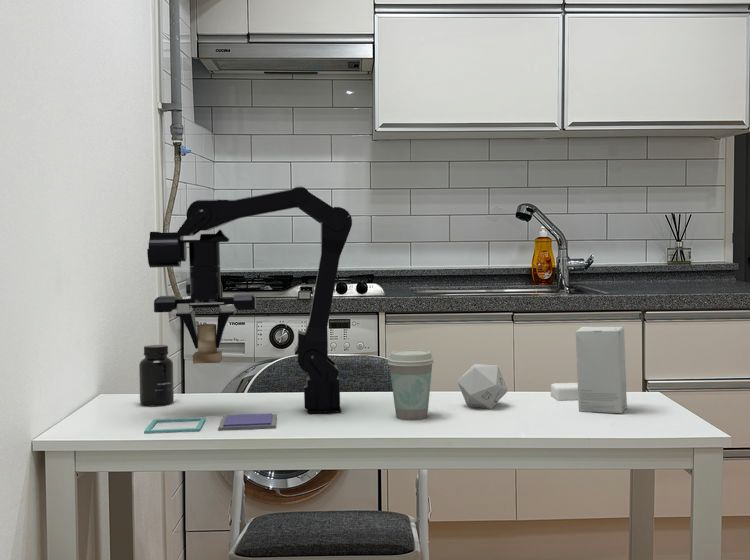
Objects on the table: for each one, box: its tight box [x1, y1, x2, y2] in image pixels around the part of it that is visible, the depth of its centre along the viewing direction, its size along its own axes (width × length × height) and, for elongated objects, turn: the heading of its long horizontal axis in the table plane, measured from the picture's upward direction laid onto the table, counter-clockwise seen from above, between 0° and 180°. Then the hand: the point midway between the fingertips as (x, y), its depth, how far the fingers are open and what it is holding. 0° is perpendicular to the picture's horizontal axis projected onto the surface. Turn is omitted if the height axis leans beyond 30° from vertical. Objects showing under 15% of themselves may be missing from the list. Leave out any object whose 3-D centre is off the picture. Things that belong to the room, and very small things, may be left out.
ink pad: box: [217, 412, 278, 431], centre depth 153 cm, size 10×10×1 cm
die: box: [456, 363, 509, 410], centre depth 164 cm, size 8×9×10 cm
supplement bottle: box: [138, 344, 175, 406], centre depth 173 cm, size 7×7×12 cm
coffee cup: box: [387, 349, 435, 421], centre depth 155 cm, size 9×8×12 cm
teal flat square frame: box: [143, 417, 207, 434], centre depth 151 cm, size 10×10×1 cm
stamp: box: [192, 323, 223, 365], centre depth 160 cm, size 5×5×7 cm
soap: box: [550, 382, 578, 402], centre depth 170 cm, size 9×6×3 cm, turn 92°
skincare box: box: [575, 326, 628, 414], centre depth 157 cm, size 8×7×16 cm
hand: (207, 348), depth 160 cm, fingers closed on stamp, 4 cm apart
